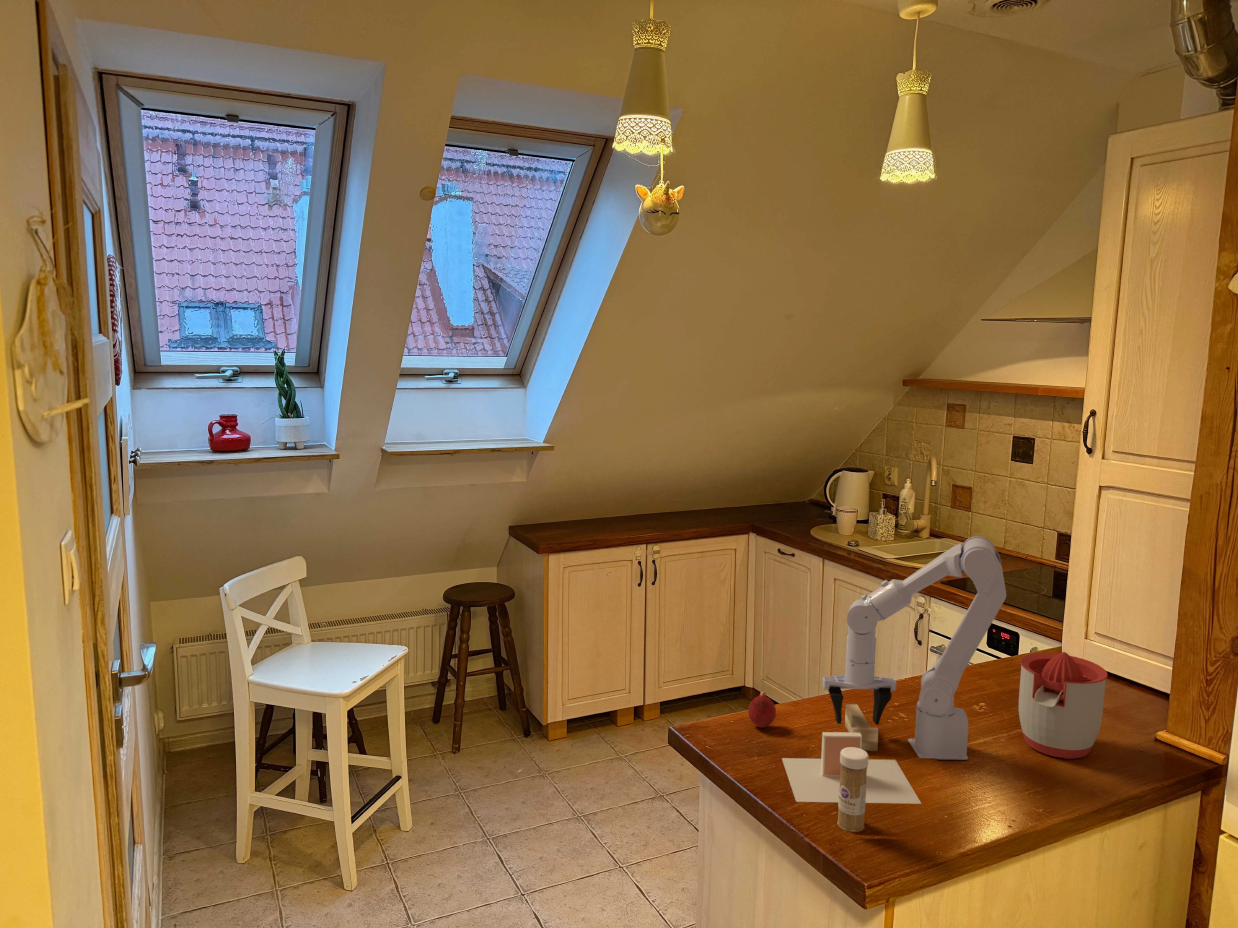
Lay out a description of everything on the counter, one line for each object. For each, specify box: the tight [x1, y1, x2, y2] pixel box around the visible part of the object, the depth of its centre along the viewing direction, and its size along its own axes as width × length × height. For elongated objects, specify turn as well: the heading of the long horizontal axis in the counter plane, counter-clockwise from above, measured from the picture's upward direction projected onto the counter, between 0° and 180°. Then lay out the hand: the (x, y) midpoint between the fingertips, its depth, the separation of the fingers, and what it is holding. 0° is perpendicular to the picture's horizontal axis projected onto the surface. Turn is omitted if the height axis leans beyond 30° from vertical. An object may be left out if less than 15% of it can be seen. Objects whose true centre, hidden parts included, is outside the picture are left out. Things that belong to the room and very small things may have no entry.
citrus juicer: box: [1018, 651, 1109, 760], centre depth 175 cm, size 16×17×20 cm
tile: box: [820, 731, 862, 776], centre depth 164 cm, size 7×2×8 cm, turn 89°
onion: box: [747, 691, 777, 729], centre depth 184 cm, size 6×6×8 cm
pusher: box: [844, 703, 879, 752], centre depth 179 cm, size 5×12×5 cm, turn 179°
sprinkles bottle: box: [836, 747, 869, 833], centre depth 147 cm, size 5×5×13 cm
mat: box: [781, 757, 922, 805], centre depth 162 cm, size 22×16×1 cm
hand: (857, 721), depth 180 cm, fingers open, 7 cm apart
